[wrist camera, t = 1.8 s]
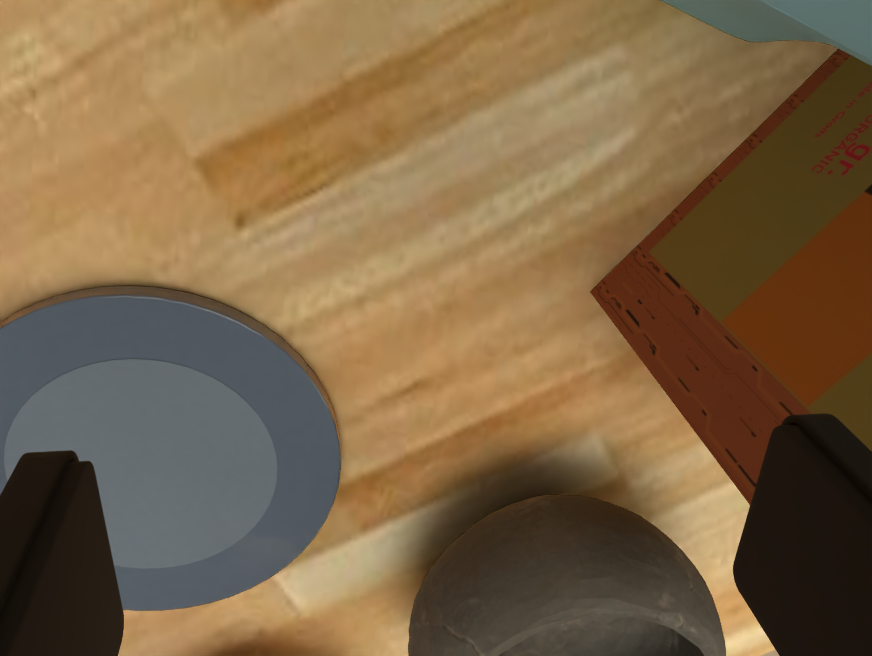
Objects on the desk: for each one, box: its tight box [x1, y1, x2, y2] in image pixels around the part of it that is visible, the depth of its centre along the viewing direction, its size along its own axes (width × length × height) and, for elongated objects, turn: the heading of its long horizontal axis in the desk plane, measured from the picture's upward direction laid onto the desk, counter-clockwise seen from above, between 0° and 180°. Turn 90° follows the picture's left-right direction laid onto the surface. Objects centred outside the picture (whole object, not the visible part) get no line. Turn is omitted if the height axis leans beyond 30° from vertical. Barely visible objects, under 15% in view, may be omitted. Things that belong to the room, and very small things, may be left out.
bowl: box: [408, 495, 726, 656], centre depth 39 cm, size 15×15×10 cm
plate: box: [0, 286, 341, 611], centre depth 37 cm, size 18×18×1 cm
